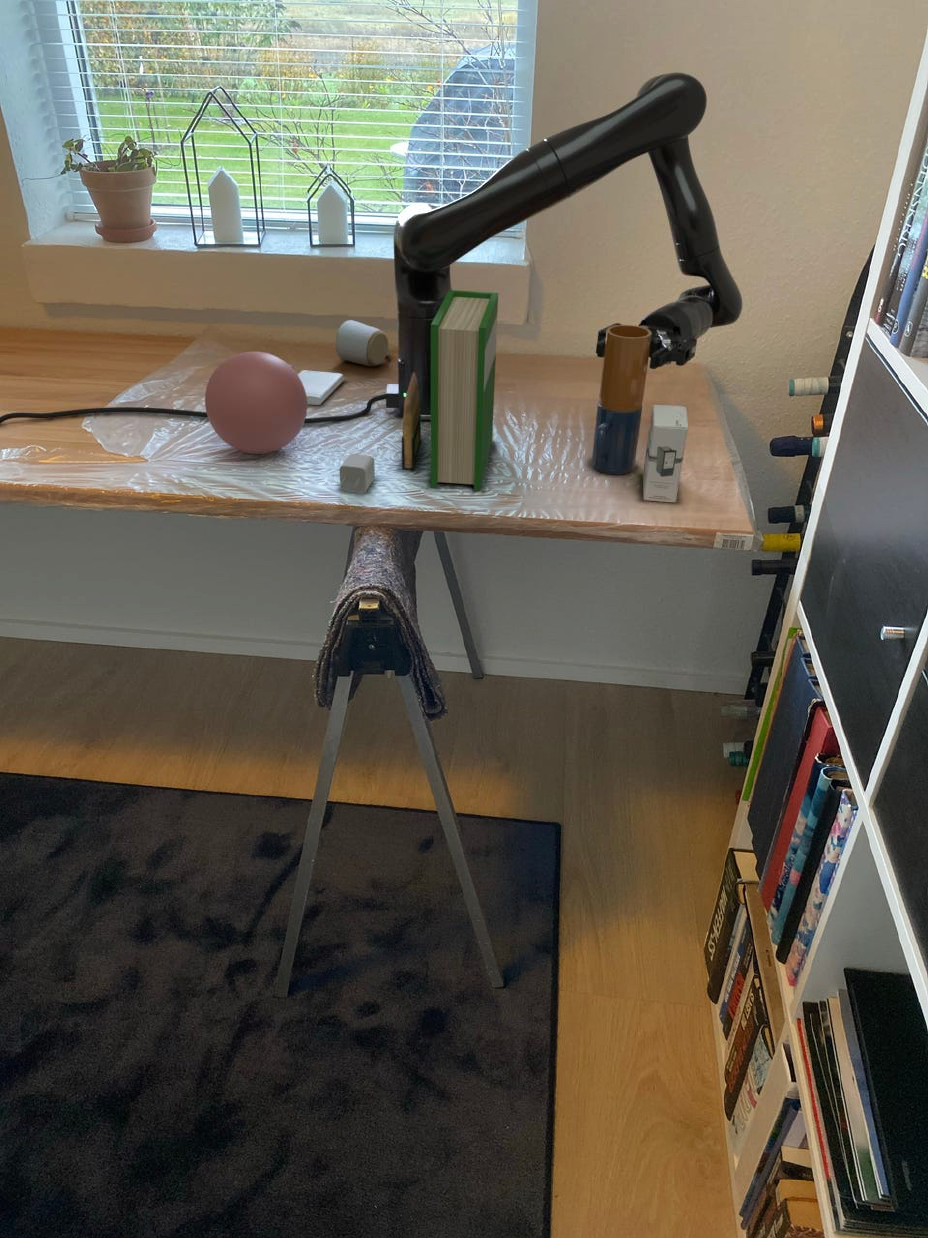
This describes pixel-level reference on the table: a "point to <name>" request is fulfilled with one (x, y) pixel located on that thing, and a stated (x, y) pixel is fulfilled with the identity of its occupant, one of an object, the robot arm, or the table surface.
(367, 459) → the usb wall charger
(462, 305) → the hardback book
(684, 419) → the ink box
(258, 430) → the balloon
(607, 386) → the tumbler
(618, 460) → the mug
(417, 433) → the ammunition clip
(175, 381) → the table surface
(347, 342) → the ceramic mug
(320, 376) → the hard drive
